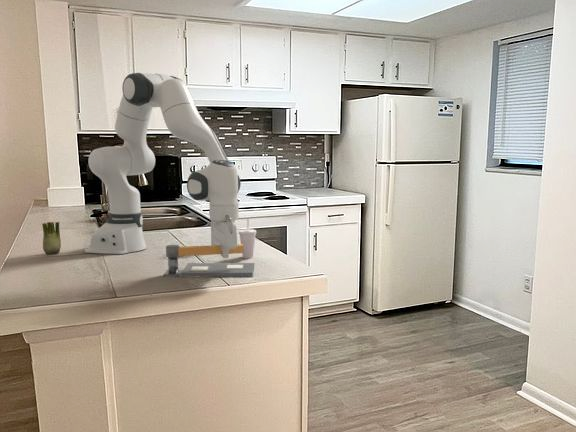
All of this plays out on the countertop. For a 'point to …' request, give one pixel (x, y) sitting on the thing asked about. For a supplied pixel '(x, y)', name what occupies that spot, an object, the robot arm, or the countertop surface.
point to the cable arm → (198, 250)
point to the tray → (218, 269)
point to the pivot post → (173, 267)
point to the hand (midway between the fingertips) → (224, 257)
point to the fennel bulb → (51, 238)
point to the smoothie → (247, 241)
